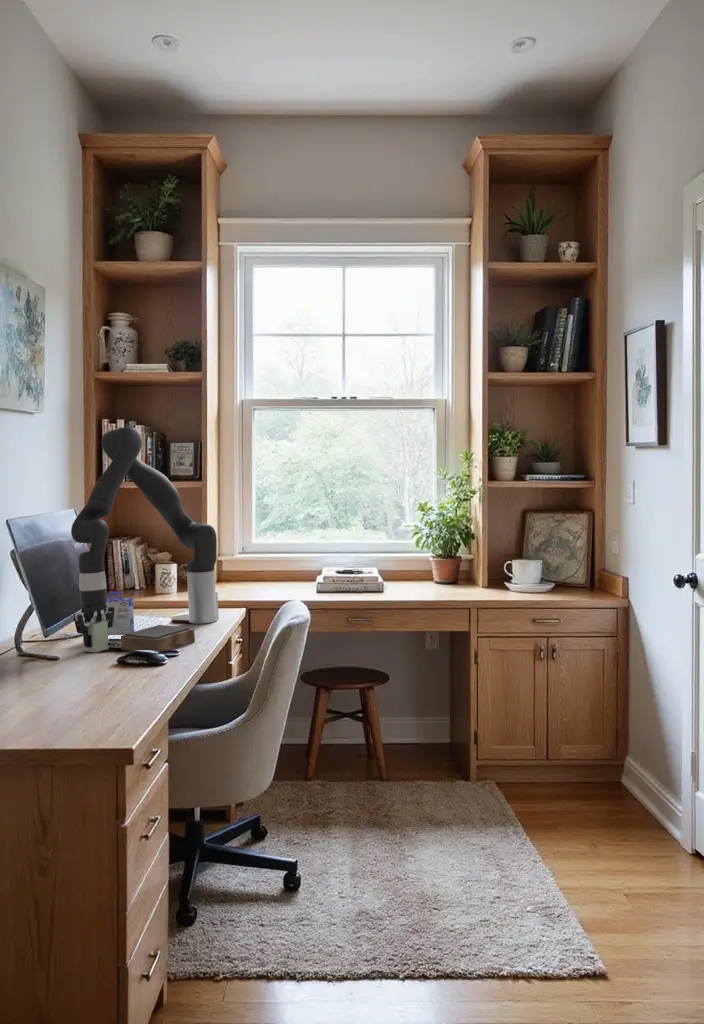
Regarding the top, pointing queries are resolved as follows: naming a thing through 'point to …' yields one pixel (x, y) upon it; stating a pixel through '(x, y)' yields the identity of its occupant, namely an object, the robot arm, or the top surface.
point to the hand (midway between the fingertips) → (95, 644)
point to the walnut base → (158, 638)
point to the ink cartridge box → (121, 614)
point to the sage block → (98, 637)
